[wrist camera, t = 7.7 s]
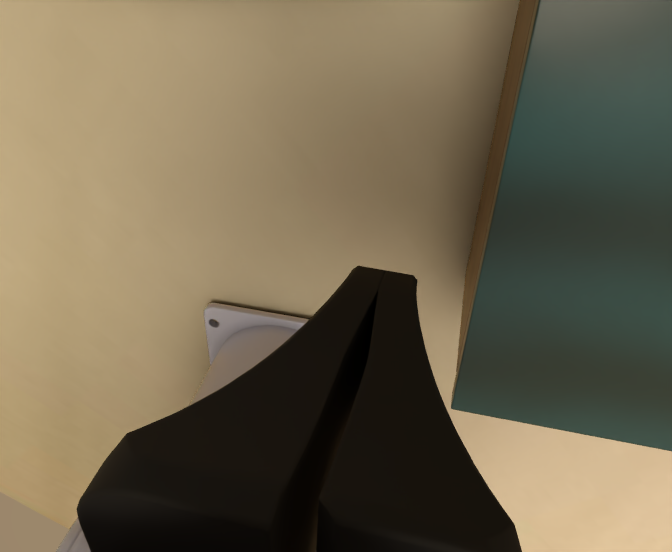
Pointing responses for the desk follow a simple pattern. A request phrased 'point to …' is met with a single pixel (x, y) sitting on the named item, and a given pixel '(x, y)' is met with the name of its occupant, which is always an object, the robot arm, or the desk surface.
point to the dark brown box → (496, 155)
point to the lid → (581, 233)
